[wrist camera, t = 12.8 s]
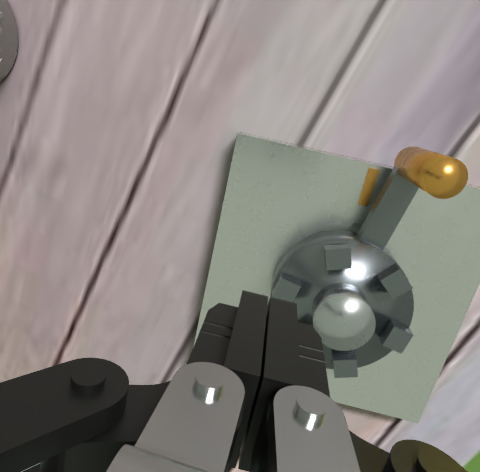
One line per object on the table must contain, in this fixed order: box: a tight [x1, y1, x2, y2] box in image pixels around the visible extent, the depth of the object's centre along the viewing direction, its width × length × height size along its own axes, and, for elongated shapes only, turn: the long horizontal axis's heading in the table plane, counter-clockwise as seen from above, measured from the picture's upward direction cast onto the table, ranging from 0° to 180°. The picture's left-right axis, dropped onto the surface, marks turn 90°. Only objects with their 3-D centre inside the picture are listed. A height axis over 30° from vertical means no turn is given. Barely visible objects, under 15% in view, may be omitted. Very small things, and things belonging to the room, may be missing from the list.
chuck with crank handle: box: [270, 147, 468, 378], centre depth 30 cm, size 19×11×8 cm, turn 157°
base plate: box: [193, 132, 480, 423], centre depth 36 cm, size 22×22×2 cm
